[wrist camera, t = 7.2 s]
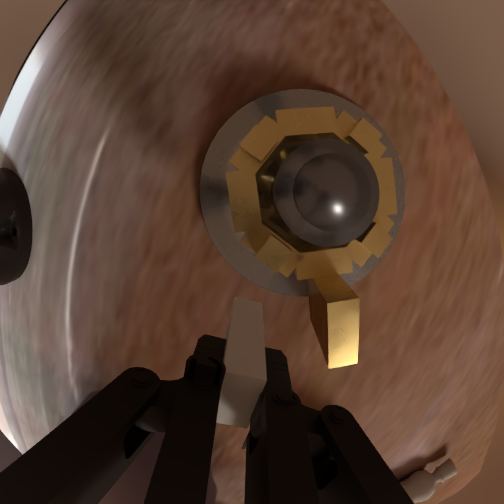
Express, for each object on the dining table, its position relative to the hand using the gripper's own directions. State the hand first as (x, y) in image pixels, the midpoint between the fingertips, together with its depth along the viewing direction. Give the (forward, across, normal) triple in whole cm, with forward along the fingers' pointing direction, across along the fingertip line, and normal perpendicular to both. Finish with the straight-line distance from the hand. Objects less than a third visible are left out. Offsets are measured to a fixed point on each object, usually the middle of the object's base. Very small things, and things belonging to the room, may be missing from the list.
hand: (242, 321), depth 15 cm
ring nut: (+8, -4, -6) cm, 11 cm away
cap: (+10, -3, -8) cm, 13 cm away
